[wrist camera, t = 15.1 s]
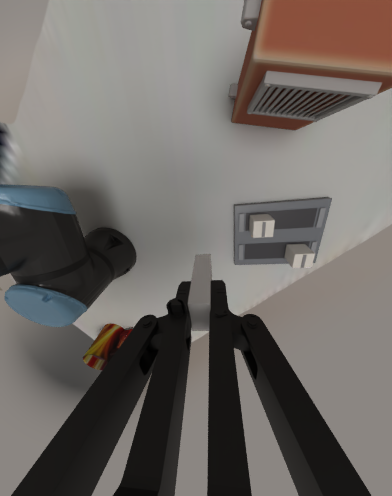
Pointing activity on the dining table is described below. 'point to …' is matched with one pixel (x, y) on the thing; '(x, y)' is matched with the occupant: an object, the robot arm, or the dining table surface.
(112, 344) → the mug
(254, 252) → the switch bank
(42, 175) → the dining table surface
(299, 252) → the tab back
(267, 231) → the tab front
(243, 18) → the orange rectangular box
